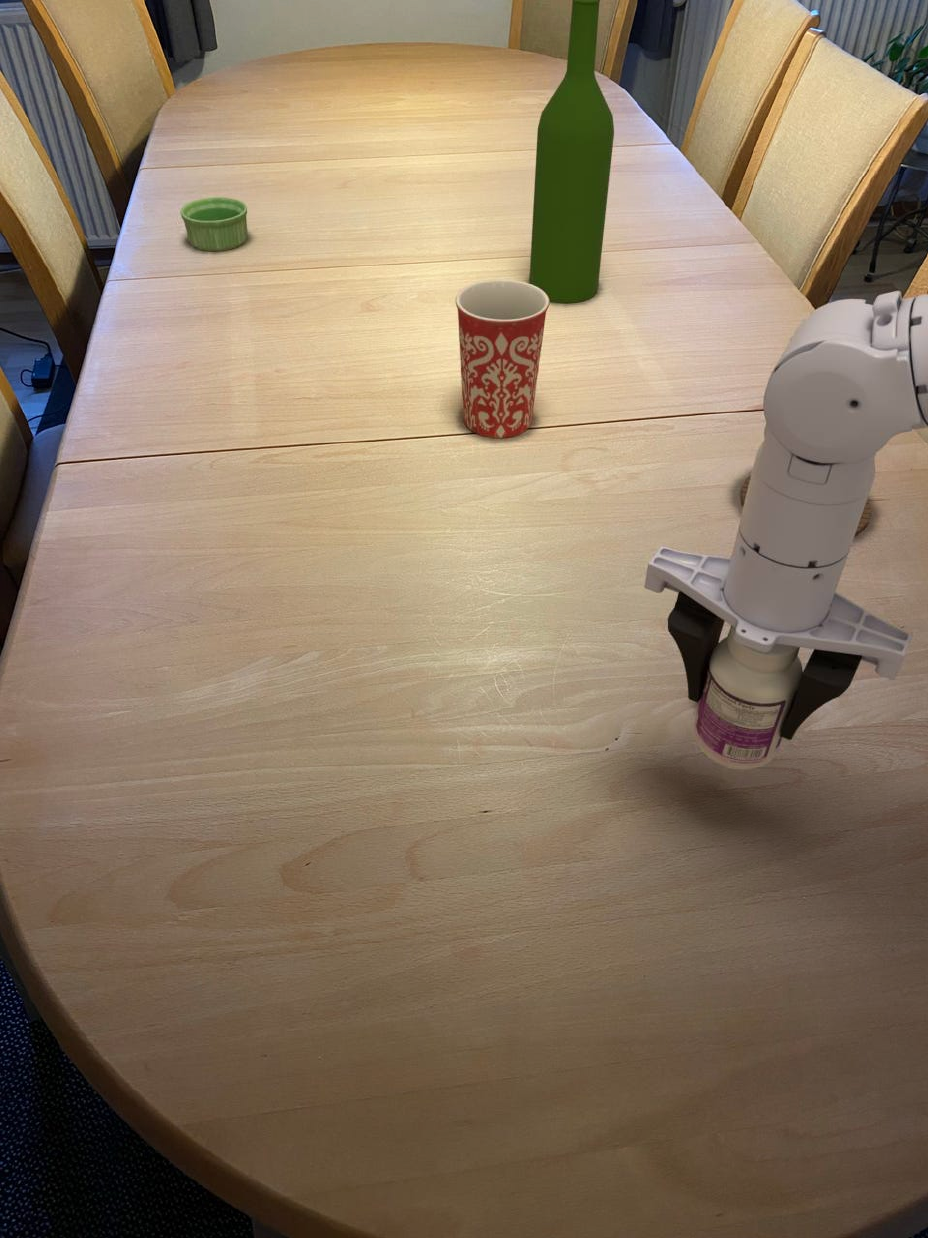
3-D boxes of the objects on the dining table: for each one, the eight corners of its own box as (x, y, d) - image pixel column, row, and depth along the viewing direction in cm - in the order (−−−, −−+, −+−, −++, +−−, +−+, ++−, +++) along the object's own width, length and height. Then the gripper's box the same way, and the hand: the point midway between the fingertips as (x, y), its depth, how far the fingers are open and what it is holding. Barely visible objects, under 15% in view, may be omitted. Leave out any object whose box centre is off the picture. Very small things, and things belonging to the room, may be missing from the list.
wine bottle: (593, 273, 132) (621, -13, 110) (602, 303, 125) (634, 5, 103) (526, 273, 132) (541, -13, 110) (531, 303, 125) (548, 5, 103)
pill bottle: (723, 696, 66) (753, 586, 59) (793, 740, 63) (833, 630, 57) (674, 740, 63) (701, 630, 57) (746, 788, 60) (782, 678, 54)
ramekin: (173, 247, 137) (166, 214, 134) (209, 224, 143) (204, 192, 140) (228, 257, 135) (223, 225, 132) (263, 233, 141) (259, 202, 138)
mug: (544, 443, 101) (553, 319, 92) (456, 444, 101) (456, 319, 92) (535, 381, 111) (542, 263, 101) (453, 382, 110) (454, 263, 101)
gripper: (636, 529, 52) (608, 704, 61) (919, 627, 47) (842, 803, 56) (686, 465, 57) (653, 637, 66) (950, 548, 51) (874, 723, 60)
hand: (742, 708), depth 61 cm, fingers closed on pill bottle, 5 cm apart
